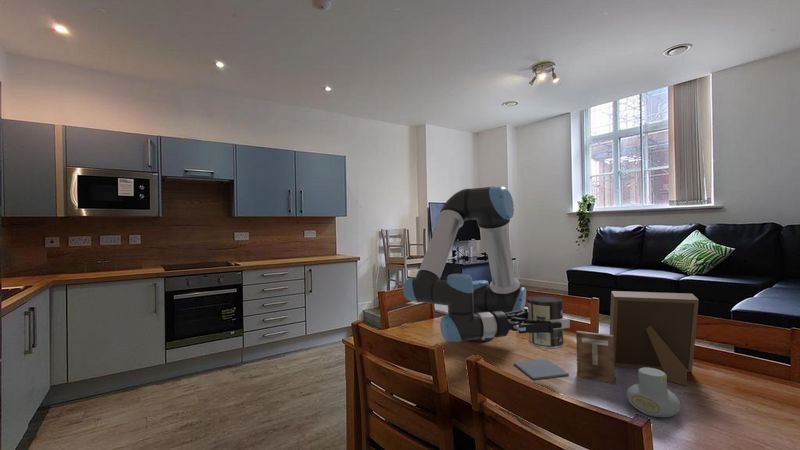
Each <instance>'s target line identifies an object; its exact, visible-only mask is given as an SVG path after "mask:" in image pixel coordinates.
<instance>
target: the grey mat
mask: <svg viewBox="0 0 800 450" xmlns="http://www.w3.org/2000/svg"><path fill="white" fill-rule="evenodd" d="M513 365H514V366H515V367H517V368H518V369H520V370H521V371H522V372H523V373H524V374H526V375H527V376H528V377H529V378H531V379H532V380H542V379H552V378H558V377H565V376H567V377H568V376H570V373H569V372H567V371H565V370H564V369H562V368H560V366H557V365H556V364H554V363H553V362H551V361H550V360H548V359H547V358H545V359H544V358H543V359H536V360H526V361H517V362H516V361H515V362H513Z"/></svg>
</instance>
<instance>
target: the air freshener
mask: <svg viewBox="0 0 800 450" xmlns="http://www.w3.org/2000/svg"><path fill="white" fill-rule="evenodd" d="M637 378H638V379H637V381H638V382H637V383H635V384H632V385H631V386H630V387H629V388H627V391H626V396H627V400H628V401H629V403H630V404H631V406H633V407H634V408H635V409H637V410H638V411H640V412H641V413H642V414H645V415H647V416H650V417H655V418H668V417H672V416H675V415H676V414H678V413H679V411H680V410H681V403H680V402H681V401H680V400H679V398H678V397H677V396H676V394H675V393H673V392H672V391H671V390H670V389H668V380H667V375H666V374H665V373H664V371H662V370H658V369H654V368H648V367H644V368H638V370H637Z"/></svg>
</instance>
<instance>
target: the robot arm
mask: <svg viewBox="0 0 800 450" xmlns="http://www.w3.org/2000/svg"><path fill="white" fill-rule="evenodd" d="M514 205H515V204H514V200H513V196H512V194H511V192H510V190H509V189H508V188H506V187H504V186H486V187H473V188H463V189H460V190H458V191H457V192H455V193H454V194H453V195H452V196H450V197H449V198H448V199H447V200H446V202H445V203H444V204H443V205H442V207H441V208H440V211H439V214H438V217H437V218H438V223H437V226H436V228H435V231H433V232H434V233H433V236H432V237H431V239H430V242H429V245H428V247H427V249H426V252H425V254H424V257H423V259H422V262H421V264H420V267H419V269H418V272H417V273H416V275H415V277H414V276H412V277H409V278H407V279H406V280H405V281H404V283H403V296H404V297H405V299H406V300H408V301H410V302H415V303H418V304H419V303H424V304H433V305H439V306H447V314H446V315H443V316H441V318H440V323H439V325H440V326H439V327H440V333H441V336H442V338H443V340H444V341H446V342H465V341H466V342H473V343H474V342H477V343H478V342H479V343H481V342H488V341H491V340H493V339H494V338H502V337H507V336H508V334H509V332H510V331H512V332H518V334H521V335H522V334H529V333H553V329H563V330H564V329H570V326H571V323H570V321H571V320H570V318H569V317H567V318H566V317H565V318H564V317H563V319H554V320H548V321H534V320H528V308H525V307H526V304H527V303H526V301H527V289H526V287H523V286H521V284H520V281H519V280H518V279H517V278H516V277H515V272H514V265H513V259H512V252H511V251H512V250H511V245H510V240H509V239H510V238H509V233H508V224H509V223H510V222H511V219H513V216H514V214H515V213H514V211H515V209H514ZM475 220H476V222H477V227H478V228H479V229H482V232H483V236H484V243H485V248H486V253H487V260H488V264H489V269H490V270H489V271H490V274H491V281H490V284H489V281H488V280H485V279H481V280H473V278H472V276H471V275H470V274H467V273H451V274H448V275H447V277H446V279H441V277H442V275H443V271H444V269H445V266H446V265H447V260H448V258H449V256H450V253H451V250H452V247H453V245H454V242H455V240H456V237H457V233H458V231H459V229H460V228H462V227H463V226H464V223H465V222H466V221H475Z"/></svg>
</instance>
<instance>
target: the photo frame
mask: <svg viewBox="0 0 800 450" xmlns="http://www.w3.org/2000/svg"><path fill="white" fill-rule="evenodd" d="M699 301H700V300H699V298H697V296H695V295H694V294H693V293H687V292H686V293H679V292H678V293H677V292H658V291H657V292H655V291H653V292H650V291H649V292H648V291H623V290H622V291H621V290H619V291H617V290H611V292H610V313H609V316H610V317H609V335H614V367H622V368H632V369H640V368H644V367H648V368H654V369H658V370H661V371H662V370H663V372H664V373H665V374H666V375H667V382H671V383H674V384H675V383H676V384H679V385H682V386H688V385H687V379H688V378H687V375H688V373H687V372H692V373H693V364H694V355H695V354H694V353H695V344H696V343H695V342H696V333H697V325H698V324H697V323H698V313H699Z"/></svg>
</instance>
